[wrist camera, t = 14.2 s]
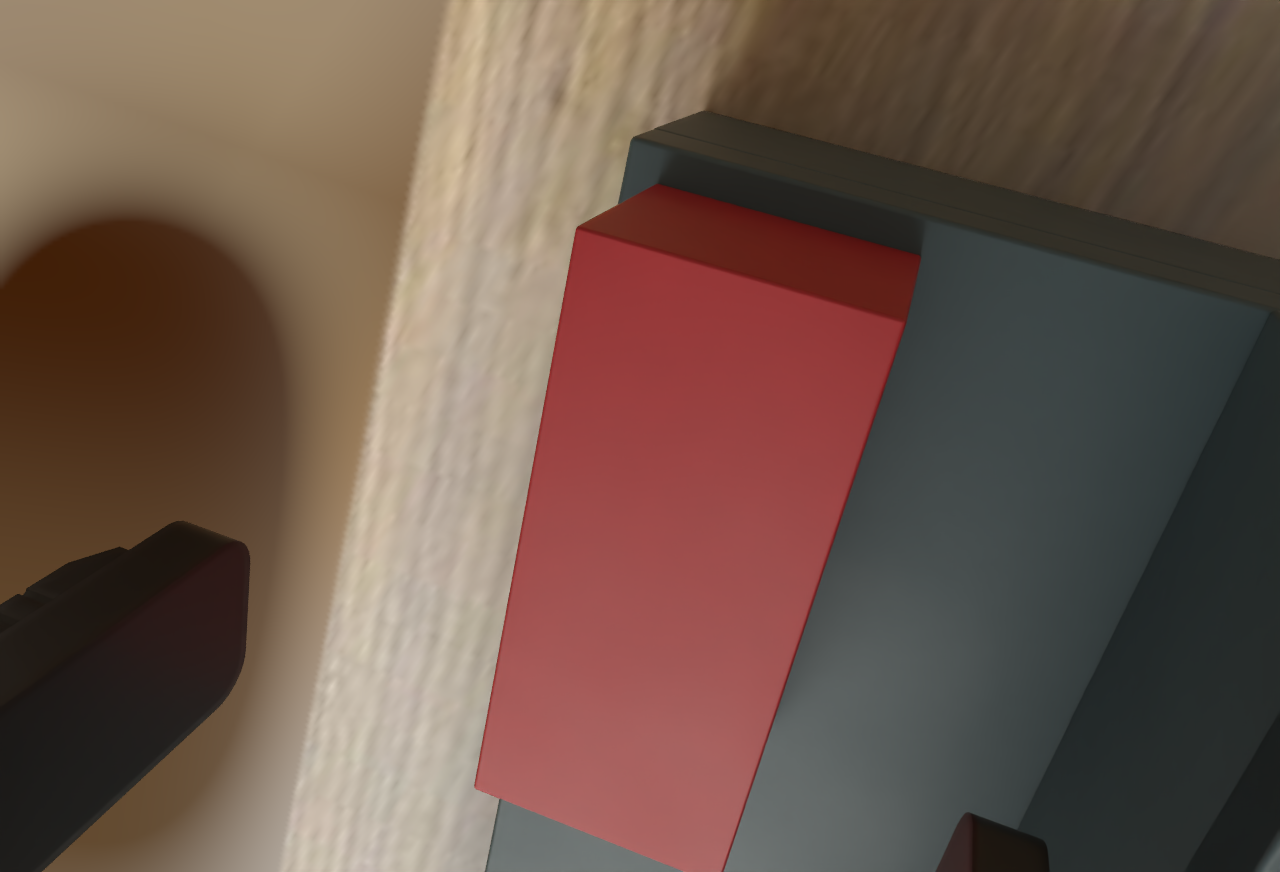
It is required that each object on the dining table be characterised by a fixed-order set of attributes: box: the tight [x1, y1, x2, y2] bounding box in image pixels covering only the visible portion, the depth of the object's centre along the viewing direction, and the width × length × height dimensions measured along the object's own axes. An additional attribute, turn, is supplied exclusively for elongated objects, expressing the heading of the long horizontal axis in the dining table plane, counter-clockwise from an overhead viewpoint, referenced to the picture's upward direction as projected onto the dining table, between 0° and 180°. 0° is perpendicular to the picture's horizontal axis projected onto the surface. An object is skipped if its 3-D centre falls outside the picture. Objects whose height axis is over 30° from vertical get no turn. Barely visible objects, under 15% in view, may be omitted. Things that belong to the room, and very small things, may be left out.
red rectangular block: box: [474, 184, 921, 872], centre depth 16 cm, size 9×4×4 cm, turn 168°
